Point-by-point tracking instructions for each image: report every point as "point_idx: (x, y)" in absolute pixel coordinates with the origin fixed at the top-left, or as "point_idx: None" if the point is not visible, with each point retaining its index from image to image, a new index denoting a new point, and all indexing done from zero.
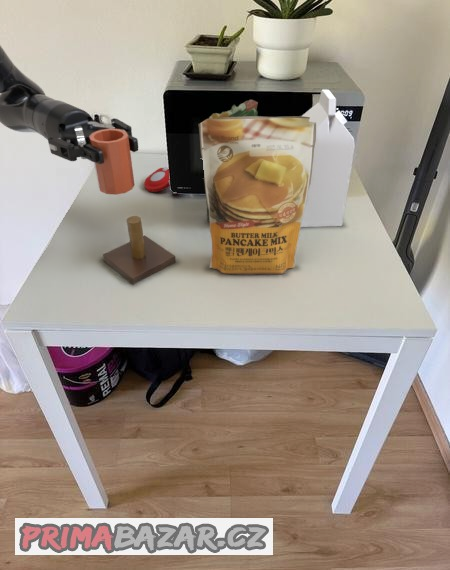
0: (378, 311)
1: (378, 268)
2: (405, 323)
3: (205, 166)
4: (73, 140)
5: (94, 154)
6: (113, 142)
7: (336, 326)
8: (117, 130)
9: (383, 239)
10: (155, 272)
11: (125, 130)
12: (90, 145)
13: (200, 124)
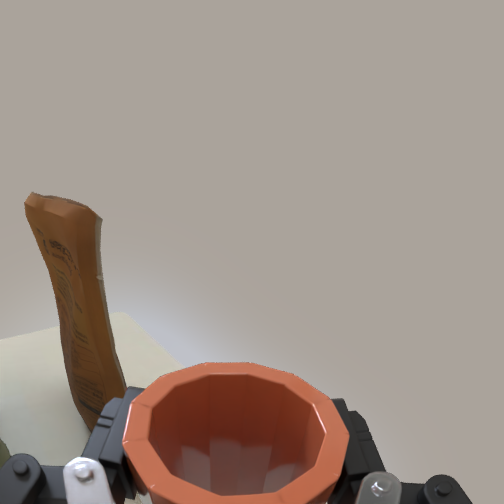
0: (122, 330)
1: (58, 337)
2: (127, 318)
3: (105, 314)
4: None
5: (353, 412)
6: (269, 368)
7: (160, 345)
8: (146, 435)
9: (7, 339)
10: None
11: (43, 483)
12: (349, 453)
13: (99, 219)
